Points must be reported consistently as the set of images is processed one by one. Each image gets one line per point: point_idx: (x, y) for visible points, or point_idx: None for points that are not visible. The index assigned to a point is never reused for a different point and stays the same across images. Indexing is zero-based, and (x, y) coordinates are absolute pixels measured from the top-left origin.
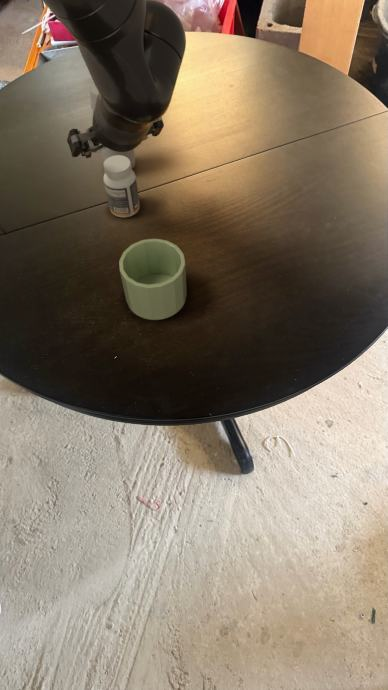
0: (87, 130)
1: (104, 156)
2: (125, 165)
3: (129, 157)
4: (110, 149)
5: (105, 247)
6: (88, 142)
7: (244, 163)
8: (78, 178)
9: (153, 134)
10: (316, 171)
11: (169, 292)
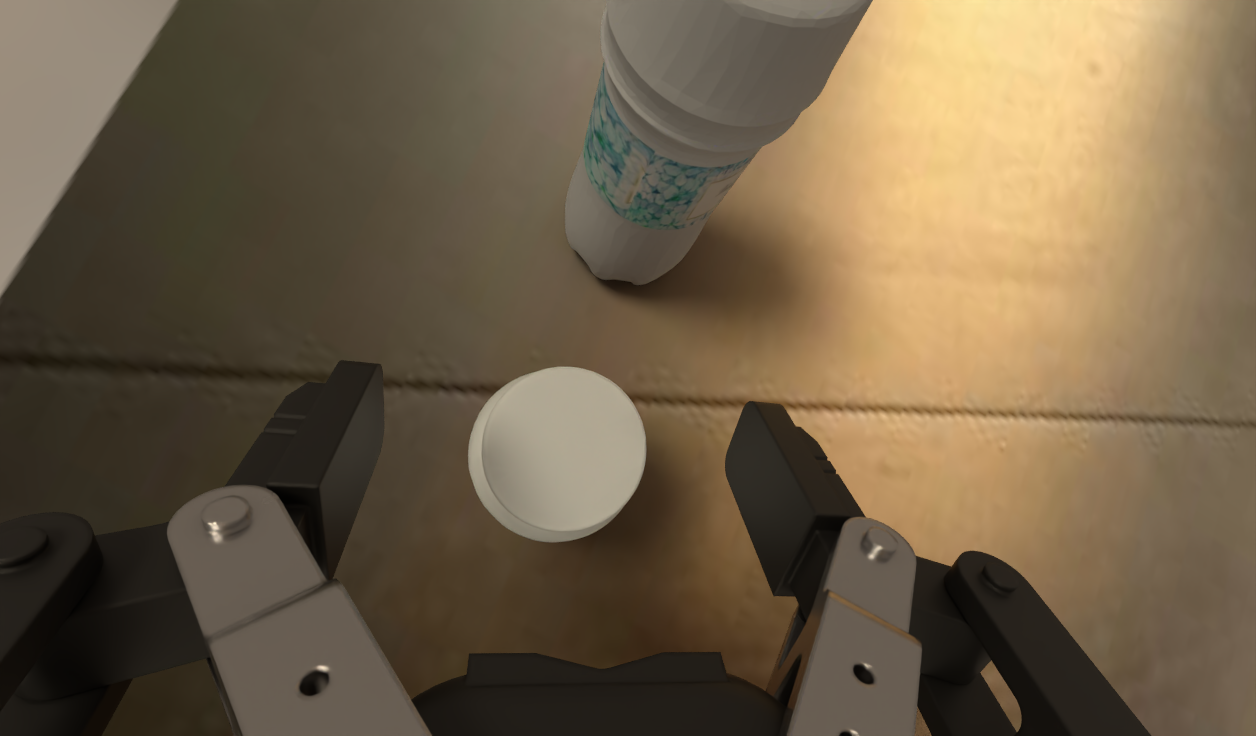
0: (218, 664)
1: (573, 200)
2: (605, 489)
3: (669, 259)
4: (606, 211)
5: None
6: (321, 519)
7: (1022, 442)
8: (446, 197)
9: (924, 710)
10: (1212, 602)
11: None
